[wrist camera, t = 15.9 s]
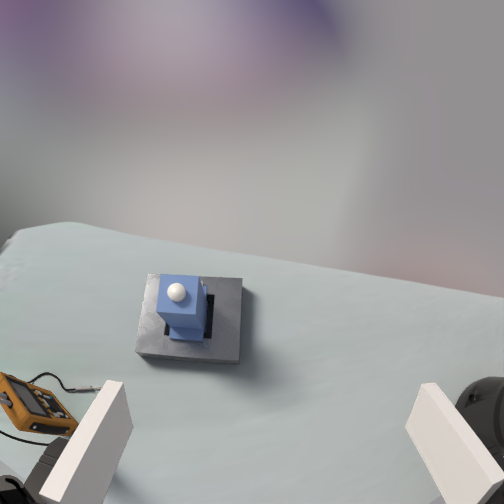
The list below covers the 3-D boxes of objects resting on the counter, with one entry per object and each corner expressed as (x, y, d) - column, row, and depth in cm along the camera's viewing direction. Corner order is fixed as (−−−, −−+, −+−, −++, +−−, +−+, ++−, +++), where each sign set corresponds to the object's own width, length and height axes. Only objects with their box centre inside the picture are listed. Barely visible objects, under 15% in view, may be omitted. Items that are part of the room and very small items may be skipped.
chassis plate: (242, 285, 48) (242, 275, 45) (238, 364, 42) (238, 358, 39) (152, 281, 48) (147, 271, 45) (140, 356, 41) (133, 350, 39)
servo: (208, 293, 46) (199, 260, 36) (205, 344, 43) (193, 326, 33) (179, 291, 46) (161, 258, 36) (174, 342, 43) (152, 323, 32)
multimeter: (127, 409, 37) (51, 385, 20) (87, 455, 33) (-3, 454, 16) (64, 342, 41) (-15, 283, 25) (28, 385, 37) (-60, 344, 20)
